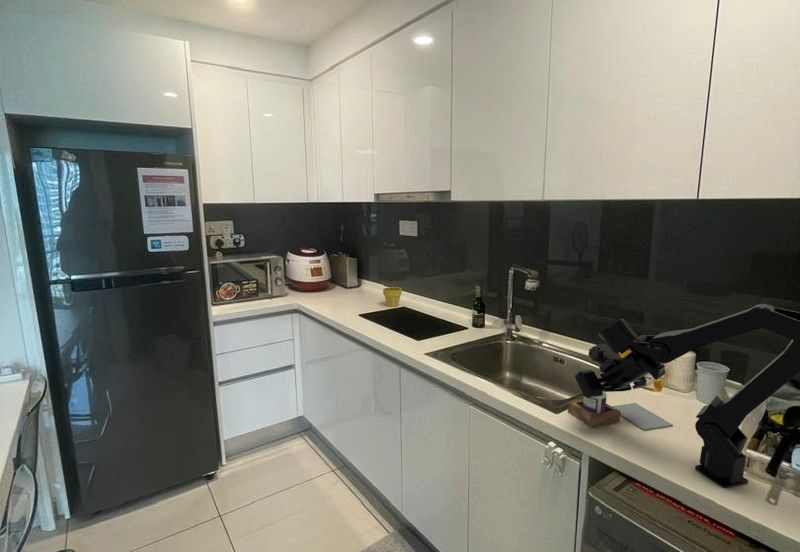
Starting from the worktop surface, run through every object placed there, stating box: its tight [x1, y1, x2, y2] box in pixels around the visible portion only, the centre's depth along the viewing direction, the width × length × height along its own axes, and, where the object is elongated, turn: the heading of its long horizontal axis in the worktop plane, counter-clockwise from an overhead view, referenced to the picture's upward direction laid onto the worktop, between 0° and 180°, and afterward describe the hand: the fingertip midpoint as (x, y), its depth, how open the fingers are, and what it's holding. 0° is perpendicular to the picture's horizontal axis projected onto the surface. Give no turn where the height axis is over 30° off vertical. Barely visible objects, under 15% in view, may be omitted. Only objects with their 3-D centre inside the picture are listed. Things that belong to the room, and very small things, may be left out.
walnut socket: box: [567, 398, 621, 429], centre depth 108 cm, size 9×9×3 cm
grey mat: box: [611, 402, 674, 432], centre depth 108 cm, size 12×9×1 cm
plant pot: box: [382, 286, 402, 308], centre depth 228 cm, size 10×10×10 cm
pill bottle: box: [583, 383, 607, 414], centre depth 107 cm, size 5×5×10 cm
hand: (591, 391), depth 108 cm, fingers closed on pill bottle, 5 cm apart
